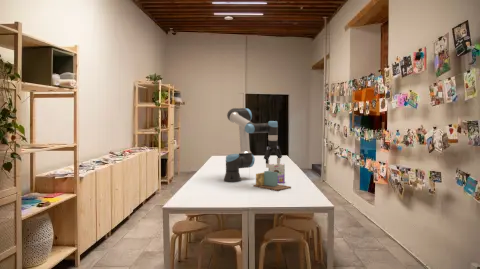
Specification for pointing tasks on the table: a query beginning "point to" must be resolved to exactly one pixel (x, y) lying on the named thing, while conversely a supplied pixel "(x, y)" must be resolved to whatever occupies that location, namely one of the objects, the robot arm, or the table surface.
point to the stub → (271, 178)
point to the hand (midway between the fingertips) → (273, 166)
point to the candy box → (278, 169)
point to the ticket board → (261, 185)
